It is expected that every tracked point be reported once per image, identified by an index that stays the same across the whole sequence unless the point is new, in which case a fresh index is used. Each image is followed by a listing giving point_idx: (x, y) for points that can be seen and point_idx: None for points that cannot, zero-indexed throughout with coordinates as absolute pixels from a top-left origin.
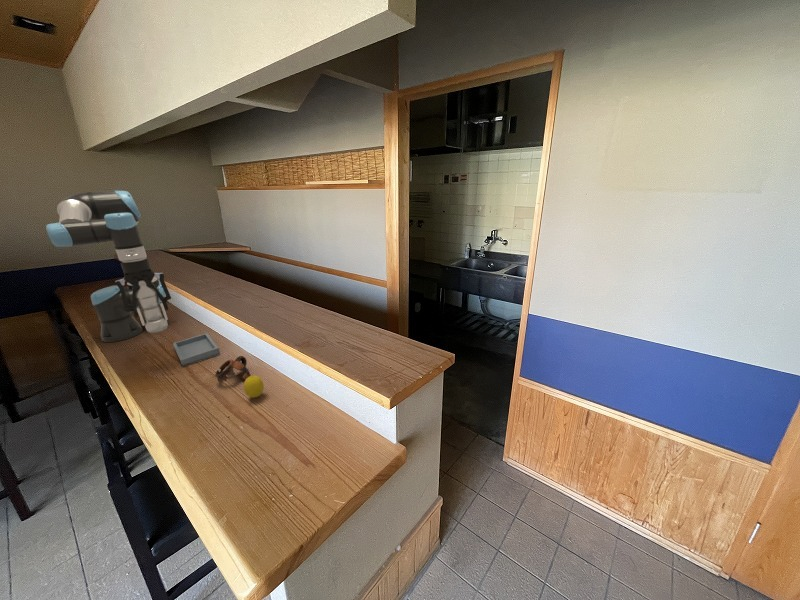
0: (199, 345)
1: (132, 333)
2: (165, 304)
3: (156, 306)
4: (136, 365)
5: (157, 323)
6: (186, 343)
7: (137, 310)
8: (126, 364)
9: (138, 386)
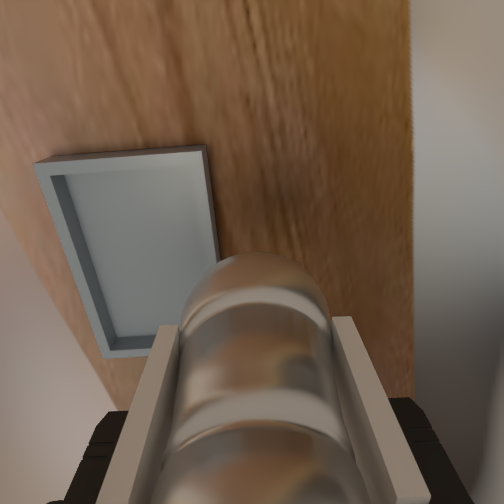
0: (139, 291)
1: None
2: (87, 485)
3: (182, 462)
4: (353, 289)
5: (241, 284)
6: None
7: (414, 468)
8: (377, 319)
9: (376, 87)
